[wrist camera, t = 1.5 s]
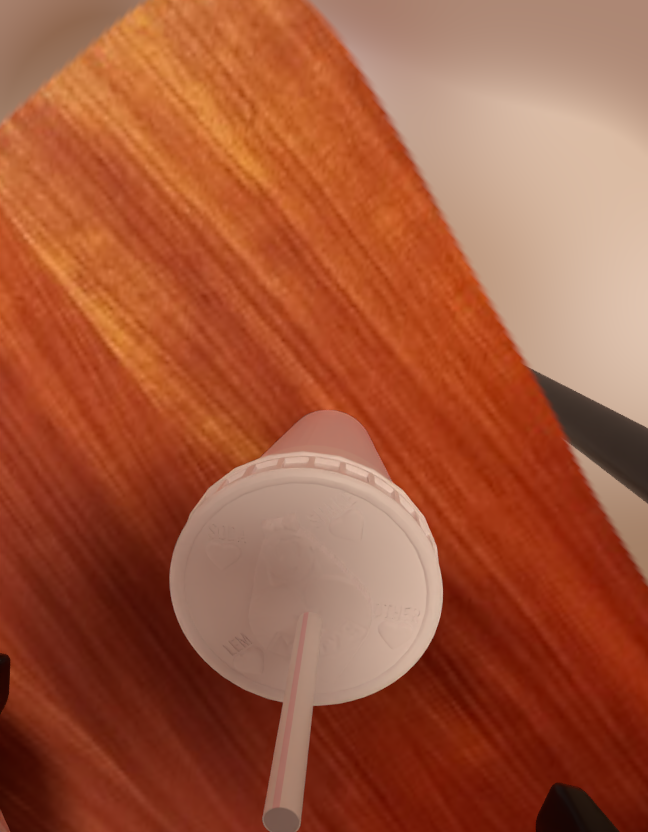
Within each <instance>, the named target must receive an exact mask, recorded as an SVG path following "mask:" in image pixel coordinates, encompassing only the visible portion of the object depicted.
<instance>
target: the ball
mask: <svg viewBox="0 0 648 832" xmlns="http://www.w3.org/2000/svg"><path fill="white" fill-rule="evenodd" d="M0 832H10V830H9V828H8V825H7V823H6V821H5V819H4V817H3V814H2V812H1V810H0Z"/></svg>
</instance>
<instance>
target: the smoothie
mask: <svg viewBox="0 0 648 832" xmlns="http://www.w3.org/2000/svg"><path fill="white" fill-rule="evenodd" d="M170 593H171V600H172V604H173V608H174V612H175V614H176V617H177V620H178V622H179V624H180V627H181V629H182V631H183V633H184V634H185V636H186V638H187V639H188V641H189V642H190V644H191V645H192V646H193V648H194V649H195V650H196V652H197V653H198V654H199V655H200V656H201V657H202V659H203V660H204V661H205V662H206V663H207V664H209V665H210V666H211V667H212V668H213V669H214V670H215V671H217V672H218V673H219V674H220V675H222V676H223V677H224V678H226V679H227V680H229V681H231V682H232V683H234V684H236V685H237V686H239V687H241V688H242V689H244V690H247V691H249V692H252V693H254V694H256V695H259V696H262V697H264V698H266V699H271V700H275V701H279V702H283V706H282V711H281V717H280V723H279V728H278V734H277V739H276V745H275V751H274V756H273V762H272V768H271V773H270V779H269V784H268V790H267V796H266V801H265V807H264V813H263V818H262V821H263V824H264V826H265V827H266V829H267V830H269V831H270V832H296V831H297V830H298V829H299V828H300V825H301V815H302V806H303V796H304V787H305V778H306V768H307V759H308V749H309V740H310V730H311V721H312V711H313V706H320V705H331V704H341V703H344V702H349V701H353V700H356V699H360V698H363V697H366V696H368V695H371V694H373V693H376V692H377V691H379V690H381V689H383V688H385V687H387V686H389V685H390V684H392V683H393V682H395V681H396V680H398V679H399V678H400V677H401V676H403V675H404V674H405V673H406V672H407V671H408V670H409V669H411V668H412V667H413V666H414V665H415V663H416V662H417V661H418V660H419V659H420V658H421V656H422V655H423V653H424V652H425V650H426V649H427V648H428V646H429V644H430V642H431V640H432V638H433V636H434V634H435V631H436V629H437V626H438V623H439V619H440V615H441V609H442V602H443V587H442V577H441V572H440V567H439V562H438V552H437V546H436V543H435V541H434V538H433V536H432V534H431V531H430V529H429V527H428V524H427V522H426V519H425V517H424V516H423V514H422V513H421V512H420V511H419V509H418V508H417V507H416V506H415V504H414V503H413V502H412V501H411V499H410V498H409V497H408V496H407V494H406V493H405V492H404V491H403V490H402V489H401V488H399V487H398V486H397V485H395V484H394V483H393V482H392V480H391V478H390V476H389V474H388V472H387V471H386V469H385V467H384V465H383V463H382V461H381V459H380V457H379V455H378V453H377V451H376V449H375V447H374V445H373V443H372V441H371V439H370V437H369V435H368V433H367V431H366V430H365V428H364V427H363V426H362V425H361V423H359V422H358V421H357V420H356V419H355V418H353V417H352V416H350V415H348V414H346V413H343V412H340V411H335V410H321V411H316V412H313V413H310V414H308V415H306V416H304V417H303V418H301V419H300V420H299V421H298V422H297V423H296V424H294V425H293V426H292V427H291V428H290V429H289V430H288V431H287V432H286V433H285V434H284V435H283V436H282V437H281V438H280V439H279V440H278V441H277V442H276V443H275V444H274V445H273V446H272V447H271V448H269V449H268V450H267V451H266V452H265V453H264V454H263V455H262V456H261V457H260V458H259V459H256V460H254V461H251V462H249V463H246V464H244V465H241V466H239V467H236V468H234V469H233V470H232V471H231V472H229V473H228V474H227V475H225V476H224V477H223V478H221V479H220V480H219V481H217V482H216V483H215V484H213V485H212V486H211V487H209V488H208V490H207V491H206V493H205V494H204V495H203V497H202V498H201V499H200V501H199V502H198V503H197V505H196V506H195V508H194V509H193V510H192V512H191V513H190V515H189V518H188V521H187V523H186V525H185V527H184V528H183V530H182V532H181V534H180V536H179V538H178V540H177V542H176V545H175V549H174V552H173V555H172V560H171V565H170Z"/></svg>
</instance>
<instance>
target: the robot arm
mask: <svg viewBox="0 0 648 832" xmlns="http://www.w3.org/2000/svg"><path fill="white" fill-rule="evenodd" d="M9 681H10V658H9V656H8V655H6V654H2V653H0V714H1V712H2V710H3V709H4V707H5V704H6V702H7V699H8V695H9ZM536 832H619V831H618V829H617V828H616V827H615V826H614V825H613V824H612V822H611V821H610V820H609V819H608V818H607V817H606V815H605V814H604V813H603V812H602V811H601V810H600V808H599V807H598V806H597V805H596V804H595V803H594V801H593V800H592V799H591V798H590V797H589V796H588V794H587V793H586V792H585V791H583V790H582V789H581V788H579V787H576V786H572V785H567V784H563V783H555V784H554V785H552V787H551V789H550V791H549V793H548V795H547V797H546V799H545V801H544V803H543V805H542V807H541V809H540V811H539V813H538V816H537V820H536Z"/></svg>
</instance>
